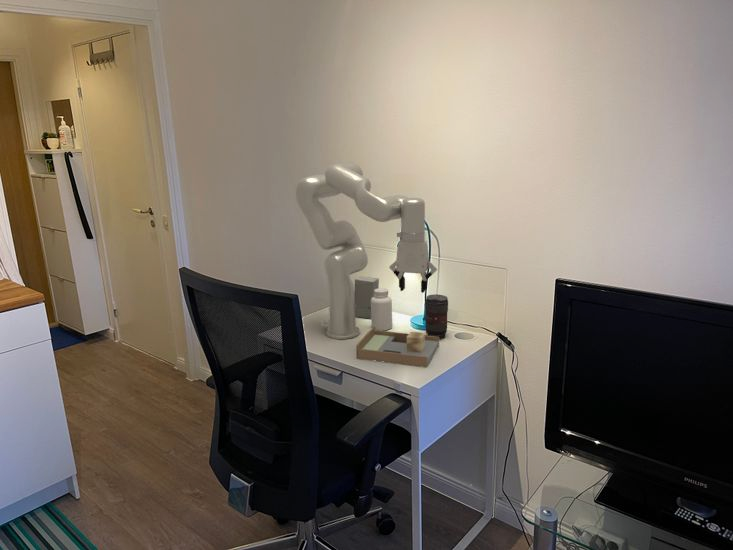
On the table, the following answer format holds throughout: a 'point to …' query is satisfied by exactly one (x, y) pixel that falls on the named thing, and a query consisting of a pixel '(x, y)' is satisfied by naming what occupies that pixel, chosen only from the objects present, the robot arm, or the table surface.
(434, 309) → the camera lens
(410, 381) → the table surface
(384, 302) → the pill bottle
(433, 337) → the box
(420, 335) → the block
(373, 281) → the skincare box
